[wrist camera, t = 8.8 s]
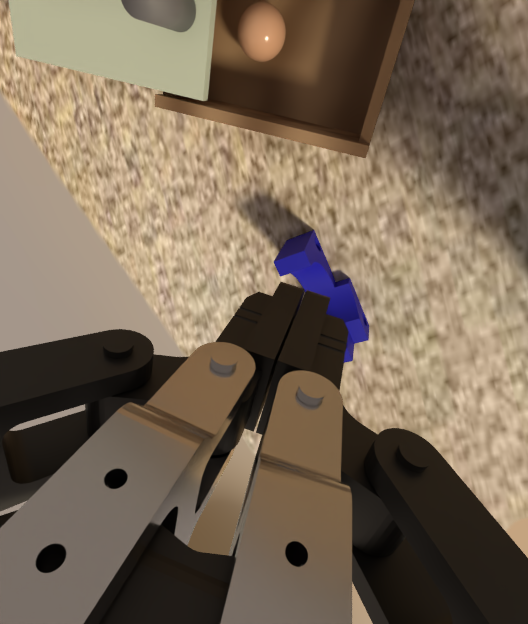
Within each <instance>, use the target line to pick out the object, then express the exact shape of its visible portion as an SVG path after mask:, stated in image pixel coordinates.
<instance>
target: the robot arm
mask: <svg viewBox="0 0 528 624" xmlns="http://www.w3.org/2000/svg"><path fill="white" fill-rule="evenodd" d="M304 290H305V289H302V288H299V287H296V286H293V285H290V284H287V283H283V282H281V283H280V284H279V286H278V288H277V289H276V291H275V293H274V295H273V296H270V295H267V294H264V293H261V292H257V293H255V294H253V295H251V296H249V297H247V298H246V299H245V300H244V302H243V303H242V305H241V306H240V309H238V310H237V312H236V313H235V315H234V316H233V318H232V319H231V320H230V322H229V323H228V325H227V326H226V328H225V329H224V330H223V332H222V333H221V335H220V336H219V338H218V339H217V340H216V342H212V343H207V344H204V345H202V346H200V347H199V348H197V349H196V350H195V351H194V352H193V353H192V354H191V355H190V357H171V356H163V355H154V354H153V353H154V351H153V350H154V348H153V345H152V343H151V341H150V340H149V339H148V338H147V337H146V336H144V335H142V334H140V333H137V332H135V331H131V330H122V329H119V330H108V331H103V332H98V333H93V334H88V335H83V336H78V337H73V338H68V339H63V340H58V341H53V342H48V343H43V344H39V345H33V346H28V347H24V348H18V349H13V350H8V351H3V352H0V511H2V510H5V509H7V508H10V507H12V506H15V505H17V504H20V503H22V502H25V501H27V500H28V501H27V502H26V503H25V504H24V505H23V506H22V507H21V508H20V509H19V510H17V511H14V512H11V513H8V514H4V515H2V516H0V624H352V582H353V584H354V586H355V588H356V590H357V592H358V594H359V596H360V598H361V600H362V602H363V604H364V606H365V608H366V610H367V613H368V614H369V617H370V619H371V621H372V623H373V624H528V558H527V557H526V555H525V554H524V553H523V552H522V551H521V549H520V548H519V547H518V546H517V545H516V544H515V542H514V541H513V540H512V539H511V538H510V536H509V535H508V534H507V533H506V532H505V530H504V529H503V528H502V527H501V526H500V525H499V523H498V522H497V521H496V520H495V519H494V517H493V516H492V515H491V514H490V513H489V511H488V510H487V509H486V508H485V507H484V506H483V504H482V503H481V502H480V501H479V500H478V498H477V497H476V496H475V495H474V494H473V492H472V491H471V490H470V489H469V488H468V487H467V485H466V484H465V483H464V482H463V481H462V479H461V478H460V477H459V476H458V475H457V473H456V472H455V471H454V470H453V469H452V467H451V466H450V465H449V464H448V463H447V462H446V460H445V459H444V458H443V457H442V456H441V454H440V453H439V452H438V451H437V450H436V449H435V448H434V447H433V446H432V445H431V444H430V443H429V442H428V441H426V440H425V439H424V438H422V437H420V436H419V435H417V434H415V433H413V432H410V431H407V430H404V429H399V428H390V429H386V430H383V431H382V432H380V433H379V434H378V435H377V434H376V433H374V432H373V431H371V430H370V429H368V428H367V427H365V426H364V425H362V424H361V423H359V422H358V421H357V420H355V419H354V418H353V417H352V416H351V415H350V414H349V413H348V412H347V410H346V409H345V407H344V406H343V399H342V396H341V394H340V392H339V390H340V383H341V377H342V370H343V364H344V358H345V351H346V344H347V338H348V332H349V331H348V329H347V327H346V325H345V323H344V321H343V319H340V318H337V317H334V316H331V315H328V314H326V312H327V309H328V305H329V302H330V297H327V296H324V295H321V294H318V293H315V292H312V291H308V290H306V293H305V295H304V298H303V294H304ZM302 298H303V300H302ZM301 301H302V302H301ZM300 304H301V305H300ZM84 404H85V408H86V409H85V410H84V411H81V412H78V413H74V414H71V415H68V416H65V417H62V418H58V419H55V420H52V421H49V422H46V423H42V424H39V425H36V426H32V427H29V428H26V429H23V430H18V431H9V430H10V429H11V428H13V427H15V426H16V425H18V424H21V423H24V422H27V421H30V420H34V419H37V418H40V417H43V416H47V415H50V414H54V413H57V412H60V411H64V410H67V409H70V408H74V407H77V406H80V405H84ZM263 406H264V408H263ZM262 409H263V411H262ZM261 411H262V414H261ZM260 414H261V418H260V421H259V424H258V428H257V431H256V433H259V434H262V438H261V441H260V444H259V447H258V451H257V454H256V457H255V460H254V463H253V467H252V471H251V474H250V478H249V482H248V486H247V489H246V493H245V497H244V501H243V504H242V508H241V512H240V516H239V519H238V523H237V527H236V531H235V534H234V538H233V542H232V545H231V549H230V552H229V556H227V555H218V554H210V553H202V552H197V551H195V550H192V549H191V548H189V547H188V546H187V545H188V542H189V539H190V537H191V534H192V532H193V529H194V527H195V525H196V523H197V521H198V519H199V517H200V515H201V513H202V511H203V509H204V508H205V506H206V504H207V502H208V500H209V498H210V496H211V494H212V493H213V491H214V489H215V487H216V485H217V483H218V481H219V480H220V477H221V476H222V474H223V472H224V470H225V468H226V466H227V465H228V463H229V461H230V459H231V457H232V455H233V453H234V449H235V446H236V445H237V444H238V442H239V440H240V438H241V436H242V433H243V431H244V429H248V430H251V431H253V432H254V429H255V426H256V424H257V421H258V419H259V416H260Z"/></svg>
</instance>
